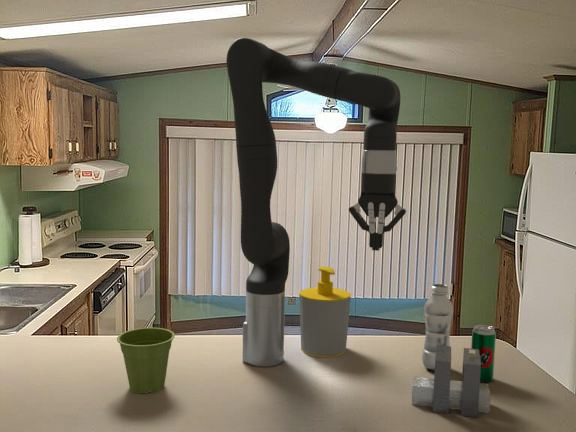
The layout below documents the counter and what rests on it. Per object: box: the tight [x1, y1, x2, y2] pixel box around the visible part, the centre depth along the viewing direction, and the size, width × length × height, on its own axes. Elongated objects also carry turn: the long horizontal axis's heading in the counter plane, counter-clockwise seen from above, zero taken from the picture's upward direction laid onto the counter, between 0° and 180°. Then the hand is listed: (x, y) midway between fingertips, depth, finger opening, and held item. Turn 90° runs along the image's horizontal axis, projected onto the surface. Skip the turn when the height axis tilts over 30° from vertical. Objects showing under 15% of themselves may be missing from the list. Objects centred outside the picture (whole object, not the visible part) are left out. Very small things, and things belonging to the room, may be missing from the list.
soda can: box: [470, 324, 497, 383], centre depth 135 cm, size 5×5×12 cm
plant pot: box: [116, 327, 176, 394], centre depth 127 cm, size 12×12×11 cm
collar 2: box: [461, 347, 481, 418], centre depth 121 cm, size 3×9×12 cm, turn 165°
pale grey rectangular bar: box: [411, 376, 491, 414], centre depth 123 cm, size 15×5×4 cm, turn 78°
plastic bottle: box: [421, 283, 454, 371], centre depth 140 cm, size 6×7×20 cm
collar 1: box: [432, 345, 452, 414], centre depth 122 cm, size 3×9×10 cm, turn 165°
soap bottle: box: [298, 266, 352, 358], centre depth 152 cm, size 13×13×21 cm
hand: (376, 249), depth 133 cm, fingers closed
